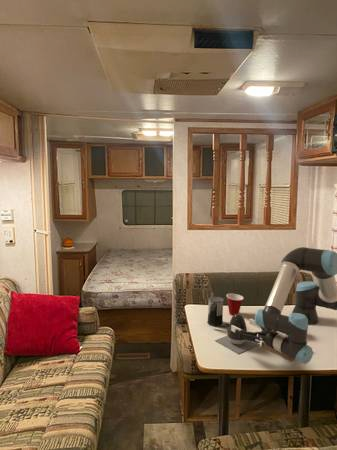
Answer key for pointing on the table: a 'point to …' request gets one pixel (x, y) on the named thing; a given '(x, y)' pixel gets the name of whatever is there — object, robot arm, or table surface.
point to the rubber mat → (235, 347)
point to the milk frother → (215, 311)
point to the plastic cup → (234, 303)
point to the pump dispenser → (240, 323)
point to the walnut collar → (276, 352)
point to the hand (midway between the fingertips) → (240, 324)
